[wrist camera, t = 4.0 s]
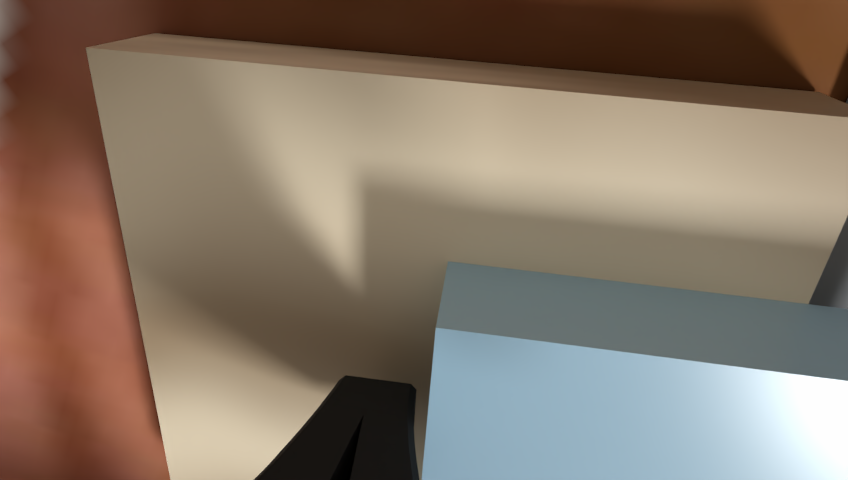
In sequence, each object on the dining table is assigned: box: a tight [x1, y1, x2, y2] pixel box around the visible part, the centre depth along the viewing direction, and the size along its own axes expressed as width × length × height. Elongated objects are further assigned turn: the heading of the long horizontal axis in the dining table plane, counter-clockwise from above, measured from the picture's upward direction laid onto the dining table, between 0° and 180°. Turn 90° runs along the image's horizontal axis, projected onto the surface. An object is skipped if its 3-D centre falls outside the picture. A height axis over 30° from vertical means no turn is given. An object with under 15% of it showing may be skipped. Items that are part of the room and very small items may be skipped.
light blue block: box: [422, 261, 848, 480], centre depth 10 cm, size 9×6×2 cm, turn 86°
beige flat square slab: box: [86, 33, 848, 480], centre depth 12 cm, size 12×12×2 cm
